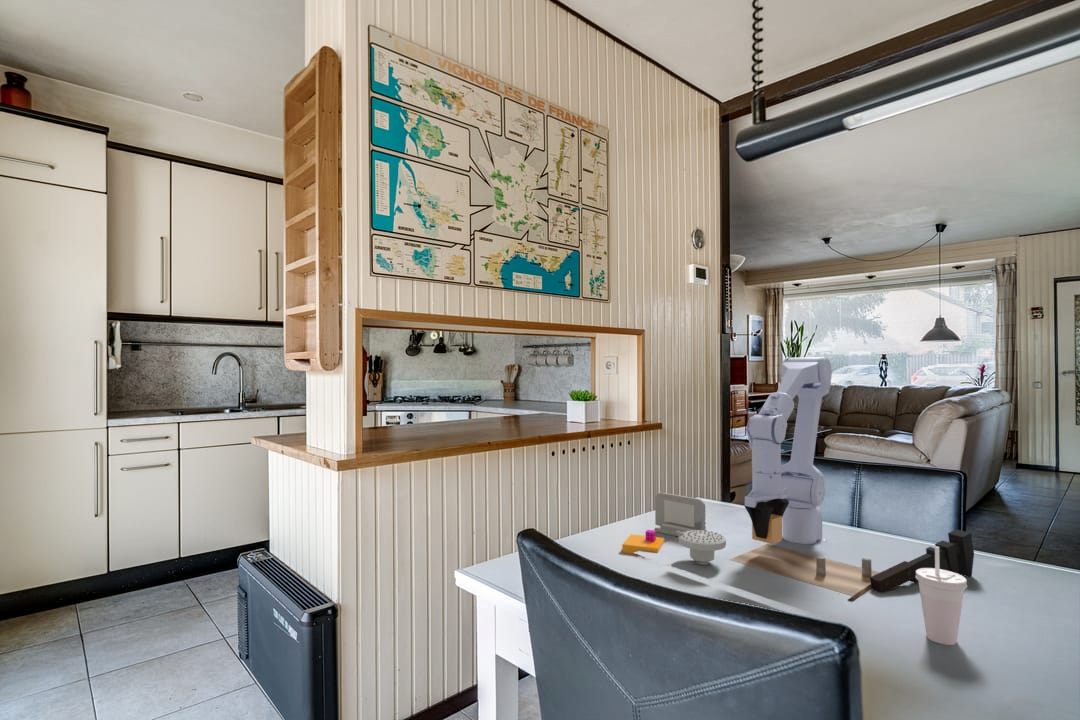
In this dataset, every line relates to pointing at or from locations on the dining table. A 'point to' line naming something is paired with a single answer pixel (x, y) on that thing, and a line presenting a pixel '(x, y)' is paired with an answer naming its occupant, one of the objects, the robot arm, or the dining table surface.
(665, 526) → the handheld gaming console
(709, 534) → the showerhead
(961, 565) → the adjustable wrench
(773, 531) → the orange wooden toy cube
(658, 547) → the orange block with knob
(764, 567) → the board
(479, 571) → the dining table surface
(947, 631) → the smoothie
